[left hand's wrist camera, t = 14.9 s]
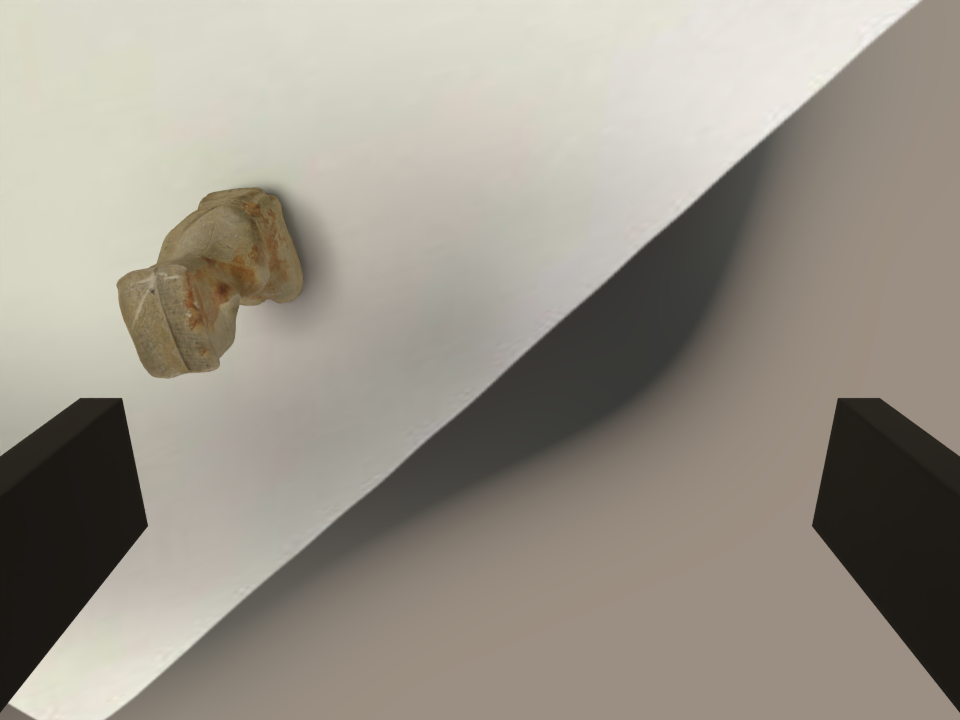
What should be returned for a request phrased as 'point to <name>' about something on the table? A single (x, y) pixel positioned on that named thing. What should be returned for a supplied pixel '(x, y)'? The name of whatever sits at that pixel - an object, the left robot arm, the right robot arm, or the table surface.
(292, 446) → the table surface
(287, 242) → the sculpture
